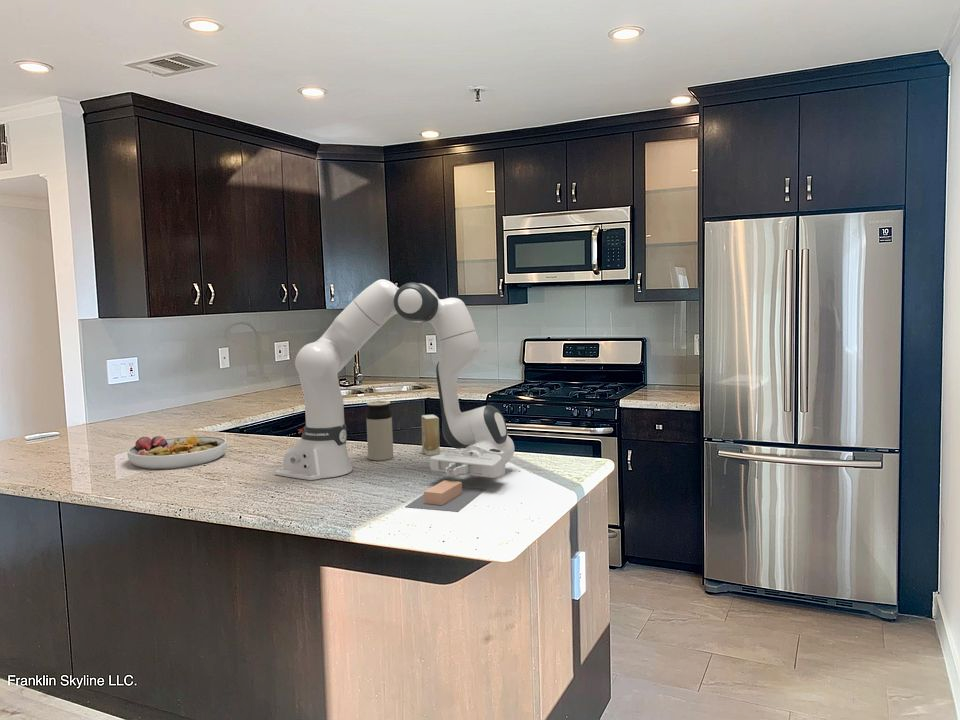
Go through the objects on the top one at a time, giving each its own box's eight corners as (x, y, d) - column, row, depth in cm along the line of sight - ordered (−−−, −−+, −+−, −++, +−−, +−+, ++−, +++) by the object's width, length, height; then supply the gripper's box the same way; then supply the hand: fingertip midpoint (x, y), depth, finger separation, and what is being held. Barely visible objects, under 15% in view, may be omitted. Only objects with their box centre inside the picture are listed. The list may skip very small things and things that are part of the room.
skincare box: (421, 451, 233) (420, 415, 232) (434, 450, 235) (433, 414, 234) (427, 456, 227) (426, 418, 226) (440, 454, 229) (439, 417, 228)
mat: (404, 508, 172) (404, 506, 172) (437, 486, 191) (437, 485, 191) (458, 513, 168) (458, 511, 168) (486, 490, 186) (486, 488, 186)
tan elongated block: (444, 491, 185) (424, 503, 175) (444, 480, 184) (423, 491, 174) (462, 493, 183) (442, 505, 173) (461, 481, 182) (441, 493, 172)
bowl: (242, 449, 246) (241, 427, 246) (201, 471, 217) (199, 446, 216) (160, 450, 249) (158, 428, 248) (108, 472, 219) (106, 447, 219)
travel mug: (391, 460, 222) (389, 403, 220) (366, 461, 222) (363, 404, 221) (395, 454, 230) (392, 400, 228) (370, 455, 230) (368, 400, 228)
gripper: (445, 445, 199) (416, 456, 187) (509, 452, 189) (483, 463, 177) (445, 467, 200) (417, 479, 188) (510, 475, 189) (484, 488, 178)
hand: (450, 471), depth 182 cm, fingers closed
